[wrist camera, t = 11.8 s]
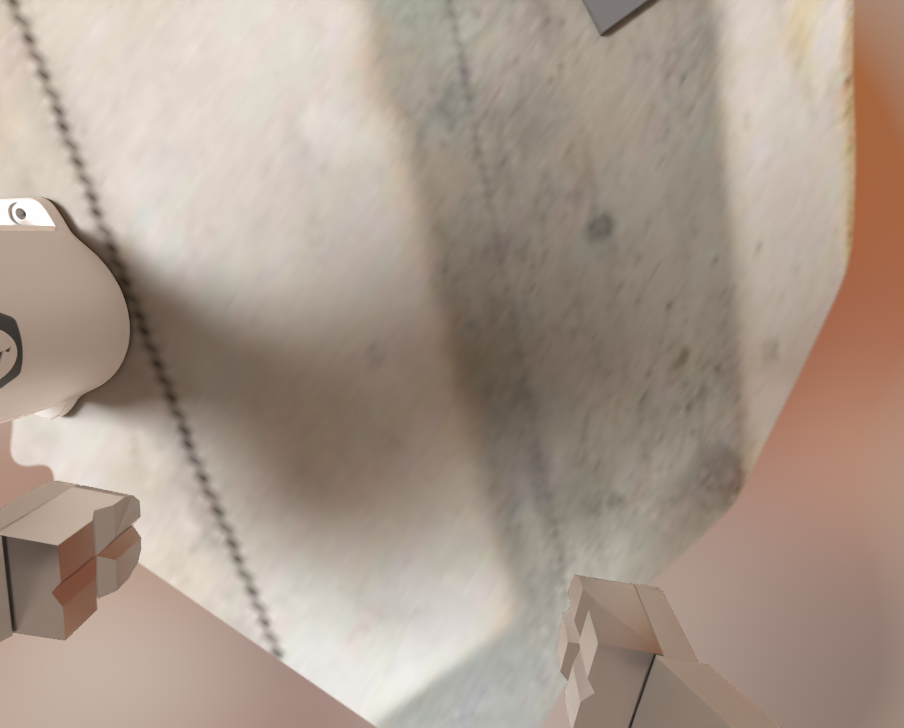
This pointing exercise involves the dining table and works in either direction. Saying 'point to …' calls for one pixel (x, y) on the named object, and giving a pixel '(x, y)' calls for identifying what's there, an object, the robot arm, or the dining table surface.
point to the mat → (610, 11)
